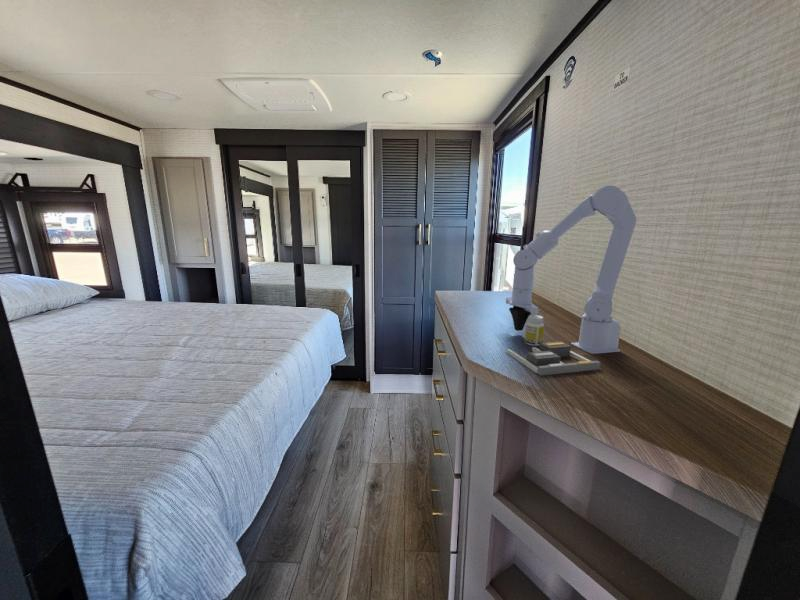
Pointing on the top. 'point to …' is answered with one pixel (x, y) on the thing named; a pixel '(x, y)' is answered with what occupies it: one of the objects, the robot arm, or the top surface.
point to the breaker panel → (560, 367)
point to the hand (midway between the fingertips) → (518, 329)
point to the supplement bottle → (534, 330)
